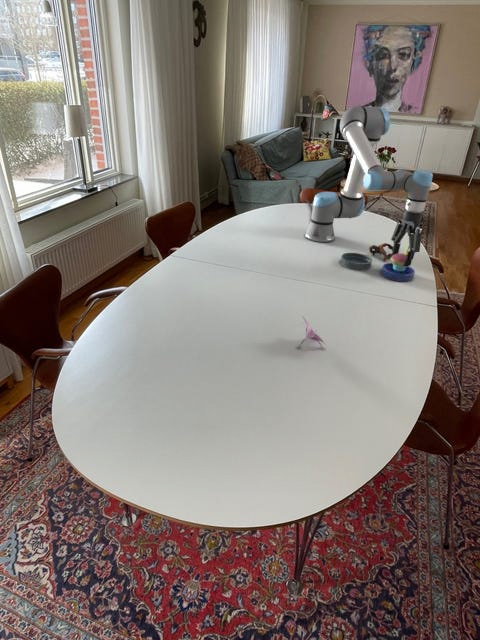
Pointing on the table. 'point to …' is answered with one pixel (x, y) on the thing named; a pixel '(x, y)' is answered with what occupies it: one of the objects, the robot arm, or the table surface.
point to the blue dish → (397, 273)
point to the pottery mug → (381, 251)
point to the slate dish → (356, 261)
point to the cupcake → (399, 261)
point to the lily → (311, 334)
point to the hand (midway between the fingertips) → (400, 261)
